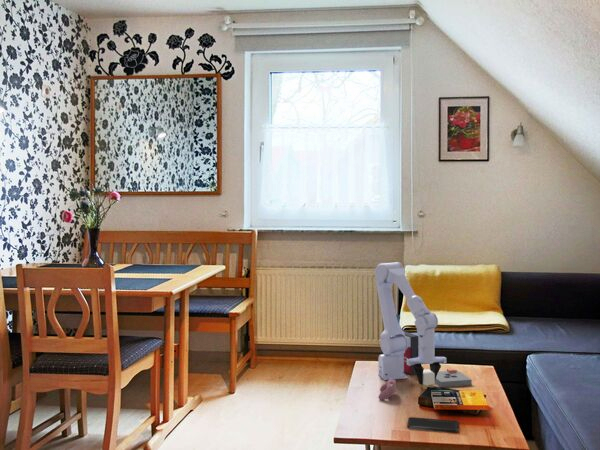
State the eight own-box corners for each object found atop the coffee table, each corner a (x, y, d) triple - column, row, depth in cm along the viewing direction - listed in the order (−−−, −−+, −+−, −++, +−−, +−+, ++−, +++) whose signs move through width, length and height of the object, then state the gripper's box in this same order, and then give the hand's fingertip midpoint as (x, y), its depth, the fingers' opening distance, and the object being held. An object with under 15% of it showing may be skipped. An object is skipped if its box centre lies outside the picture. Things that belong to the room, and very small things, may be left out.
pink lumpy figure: (389, 405, 197) (398, 388, 196) (377, 399, 198) (386, 381, 197) (390, 396, 207) (399, 379, 206) (379, 389, 207) (387, 372, 206)
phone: (458, 430, 169) (406, 426, 173) (458, 434, 169) (406, 429, 173) (458, 420, 177) (408, 416, 181) (458, 424, 177) (408, 420, 181)
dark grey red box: (393, 368, 235) (393, 331, 235) (402, 366, 237) (402, 330, 236) (409, 375, 225) (409, 337, 225) (418, 373, 227) (418, 335, 226)
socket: (440, 387, 210) (440, 379, 210) (427, 377, 222) (427, 369, 222) (471, 384, 212) (471, 376, 212) (457, 375, 224) (457, 367, 224)
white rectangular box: (424, 390, 208) (424, 374, 207) (418, 385, 213) (418, 370, 212) (434, 389, 208) (434, 373, 208) (429, 384, 213) (429, 369, 213)
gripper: (411, 350, 205) (411, 388, 205) (450, 348, 207) (450, 385, 208) (404, 345, 212) (404, 382, 212) (441, 343, 214) (441, 379, 215)
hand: (426, 383), depth 210 cm, fingers closed on white rectangular box, 4 cm apart
